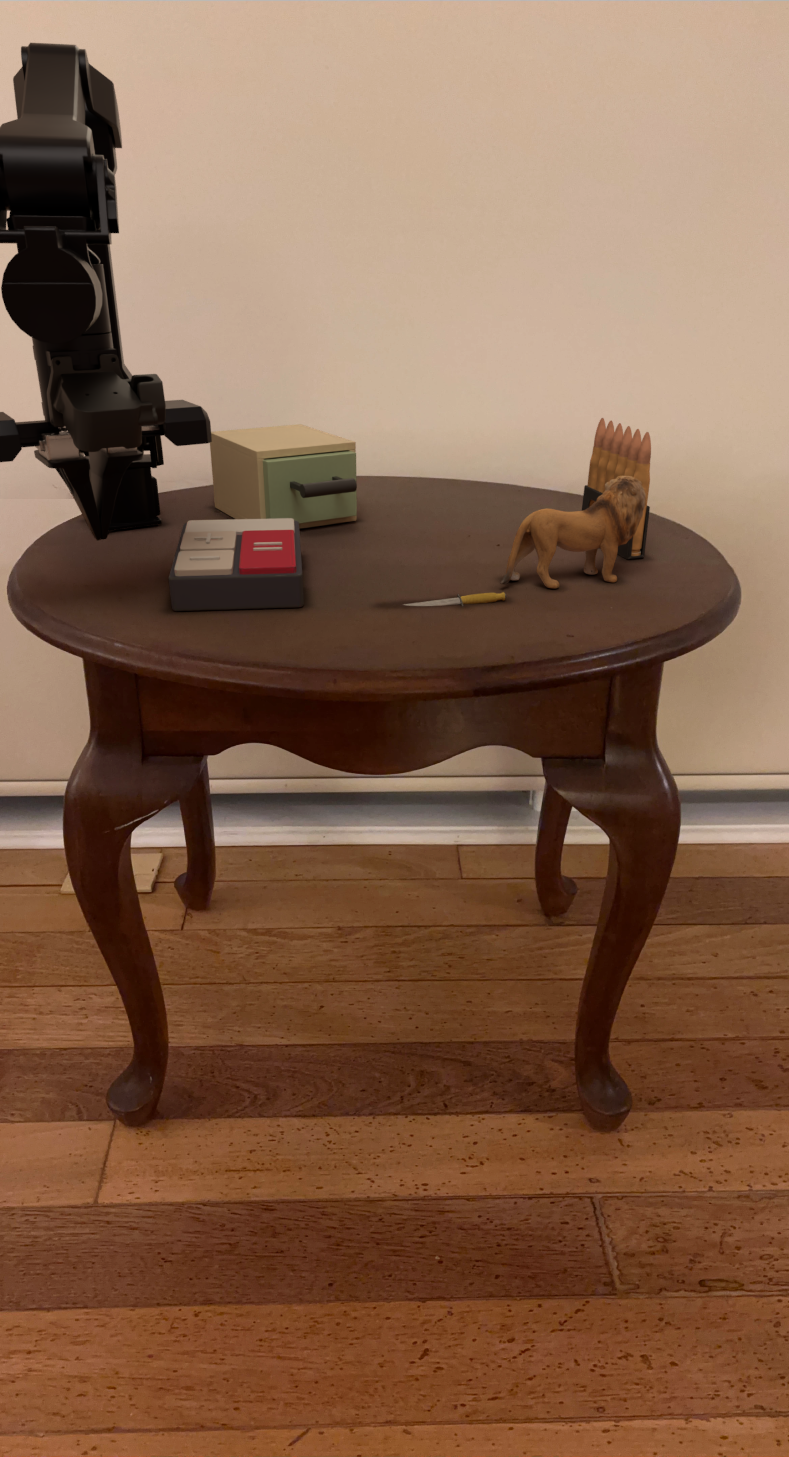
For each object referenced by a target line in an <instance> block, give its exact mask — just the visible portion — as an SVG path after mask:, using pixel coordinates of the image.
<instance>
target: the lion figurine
mask: <svg viewBox="0 0 789 1457" xmlns="http://www.w3.org/2000/svg"><path fill="white" fill-rule="evenodd" d="M645 505H646V495H645V490H644V488H643V486H642V483H641V482H640V481H639V480H638V479H636V478H634V477H632V476H618V477H617V478H616V479H612V480H610V482H607V483H606V484H605V492H604V493H603V494H602V495H601V496H599V497H598V498H597V501H596V502H594V503H593V504H592V506H591V507H589V508H587V509H585V510H584V511H582V510H577V511H564V510H559V509H554V508H541V509H537V510H535V511H533V512H531V513H530V514H529V515H527V516H526V517H525V518H524V519H523V520H522V522H521V523H520V525H519V527H518V529H517V531H516V532H515V536H514V540H513V543H512V545H511V551H510V555H509V556H508V558H507V565H506V568H505V574H504V575H503V578H502V579H501V581H500V582H499V584H500V585H507V584H509V582H510V581H519V580H520V577H521V574H520V573H519V572H517V571H515V568H516V567H517V565H518V564H519V563H520V562H521V561H522V560H523V559H525V558H526V557H527V556H529V555H530V554H531V553H533V551H534V550H535V552H536V555H537V559H538V561H537V566H536V571H535V572H536V573H537V575H538V577H539V578H540V580H541V581H542V583H543V584H544V586H545V587H546V588H547V589H558V588H559V587H560V583H559V581H558V580H557V579H553V578H551V576H550V572H549V570H550V564H551V563H552V561H553V559H554V556H555V554H556V551H557V547H559V548H560V549H562V550H565V551H568V552H571V553H572V552H573V553H581V552H582V553H583V552H585V560H584V565H583V572H584V573H585V574H586V575H589V576H594V575H597V574H598V572H599V569H598V568H597V567H596V558H597V554H598V550H599V549H600V551H601V553H602V556H603V559H602V561H603V563H602V567H601V575H602V579H603V581H605V582H608V583H617V581H618V577H617V575H616V574H614V573H613V569H614V566H615V563H616V560H617V556H618V554H617V552H618V546H620V545H623V544H626V543H627V542H628V541H629V540H630V539H631V538H632V537H633V535H635V533H636V530H637V527H638V525H639V522H640V520H641V518H642V516H643V510H644V507H645Z"/></svg>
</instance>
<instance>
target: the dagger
mask: <svg viewBox="0 0 789 1457" xmlns="http://www.w3.org/2000/svg"><path fill="white" fill-rule="evenodd" d="M505 600H507V593H505V591H501V593H496V592H484V593H474V594H467V595H462V596H461V595H460V594H459V593H457V594H456V597H451V598H443V599H436V600H428V601H420V602H419V601H418V602H412V603H404V604H402V606H408V607H409V606H410V607H437V606H438V607H439V606H441V607H442V606H459V605H460V606H461V608H462V607H464V605H471V604H473V605H474V604H476V605H478V604H489V603H496V602H498V601H505Z"/></svg>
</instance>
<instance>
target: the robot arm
mask: <svg viewBox="0 0 789 1457" xmlns="http://www.w3.org/2000/svg"><path fill="white" fill-rule="evenodd" d="M20 58H21V67H20V68H19V70H18V71H17V72H16V74H14V76H13V78H12V83H13V84H12V85H13V92H14V101H15V109H16V117H17V118H16V119H13V120H9V121H7V122H4V123H2V124H1V125H0V244H16V248H17V253H16V254H15V255H13V256H12V257H11V259H10V261H8V263H7V265H6V267H5V269H4V271H3V274H2V281H1V286H0V288H1V292H0V293H1V298H2V301H3V304H4V308H5V310H6V312H7V314H8V316H9V317H10V319H11V320H12V322H13V323H14V324H15V326H16V327H18V328H19V330H20V331H22V332H23V333H24V334H26V335H27V336H29V337H30V338H31V341H32V352H33V357H34V361H35V366H36V372H37V380H38V386H39V391H40V398H41V402H40V403H41V409H42V415H43V417H44V419H43V420H31V421H30V420H29V421H16V420H15V419H14V418H13V417H11V416H10V415H9V414H8V413H5V412H4V411H0V463H10V462H14V460H15V459H16V457H17V456H18V455H19V454H20V453H21V451H22V450H23V448H33V447H34V448H36V449H35V450H34V451H33V454H34V457H35V459H37V460H38V461H39V462H41V463H42V464H43V465H44V466H45V467H46V468H48V469H55V470H56V472H57V473H58V475H59V476H60V478H61V480H62V481H63V482H64V484H65V485H66V487H67V488H68V491H69V492H70V494H71V496H72V498H73V500H74V502H75V504H76V505H77V508H78V509H79V511H80V513H81V516H82V517H83V519H84V521H85V523H86V524H87V526H88V527H87V528H88V529H89V530H90V533H91V534H92V536H93V538H94V539H95V540H96V541H101V540H102V541H103V540H107V539H108V536H109V532H111V531H119V530H127V529H136V528H141V527H150V526H156V525H157V526H158V525H161V524H163V522H162V518H160V517H159V516H160V515H161V505H160V496H159V487H158V479H157V478H156V477H155V476H153V475H152V469H157V468H158V467H159V466H164V465H165V461H164V460H165V459H164V452H163V441H162V436H164V437H165V438H166V439H167V440H168V441H169V442H170V443H172V444H173V445H174V446H176V447H182V446H183V447H185V446H193V445H195V446H196V445H204V444H205V445H206V444H210V442H212V437H211V432H212V426H211V419H210V417H209V414H208V412H207V411H206V410H205V409H204V408H203V407H202V406H201V405H199V404H195V403H193V402H190V401H187V400H186V399H185V400H184V399H172V400H166V398H165V390H164V383H163V381H162V379H161V377H159V375H158V374H157V373H147V374H146V373H145V374H132V372H131V371H130V370H129V369H128V366H127V365H126V364H125V361H124V360H125V359H124V350H123V344H122V343H123V342H122V335H121V327H120V318H119V311H118V302H117V293H116V285H115V278H114V276H115V275H114V269H113V259H112V251H111V245H112V244H113V242H112V234H120V224H119V208H118V207H119V206H118V193H117V182H116V173H117V171H118V161H117V160H118V159H117V152H116V151H117V150H116V149H123V139H122V138H123V137H122V130H121V120H120V113H119V111H120V110H119V105H118V99H117V94H116V89H115V88H116V87H115V84H114V82H113V80H111V79H110V78H108V77H107V76H106V75H104V74H103V73H102V72H101V71H100V70H98V69H97V68H96V67H95V66H93V65H91V64H90V62H89V58H88V53H87V50H86V48H79V46H78V45H77V44H67V43H66V44H65V43H47V42H46V43H45V42H29V44H28V45H21V47H20ZM8 212H9V216H8ZM145 452H149V453H145Z"/></svg>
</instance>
